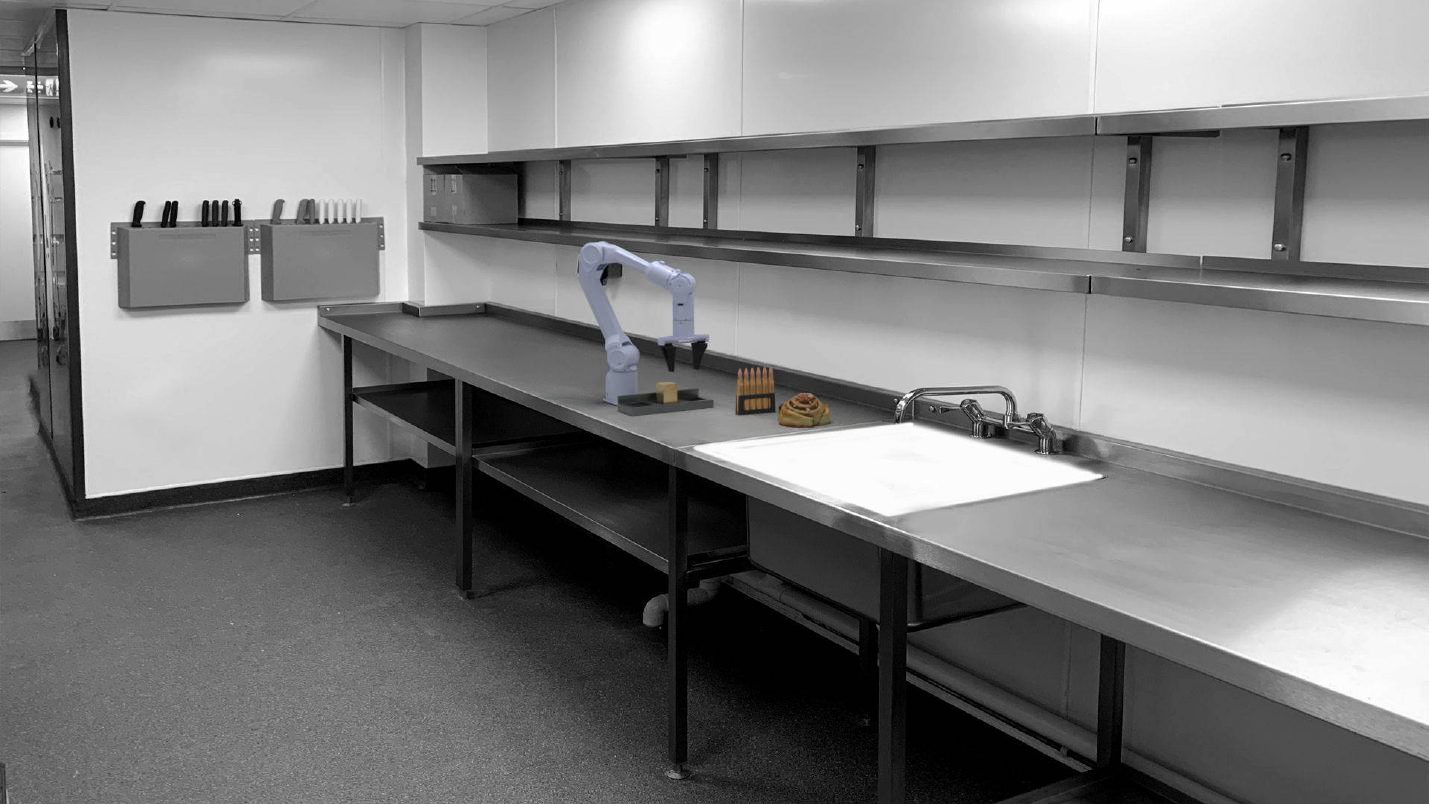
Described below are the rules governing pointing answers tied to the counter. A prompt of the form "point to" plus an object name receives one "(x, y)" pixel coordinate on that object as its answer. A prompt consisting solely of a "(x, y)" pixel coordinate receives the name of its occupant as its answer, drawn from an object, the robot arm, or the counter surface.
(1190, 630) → the counter surface
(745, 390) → the ammunition clip
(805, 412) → the pastry
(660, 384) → the brass peg
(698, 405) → the charcoal rail
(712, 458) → the counter surface
